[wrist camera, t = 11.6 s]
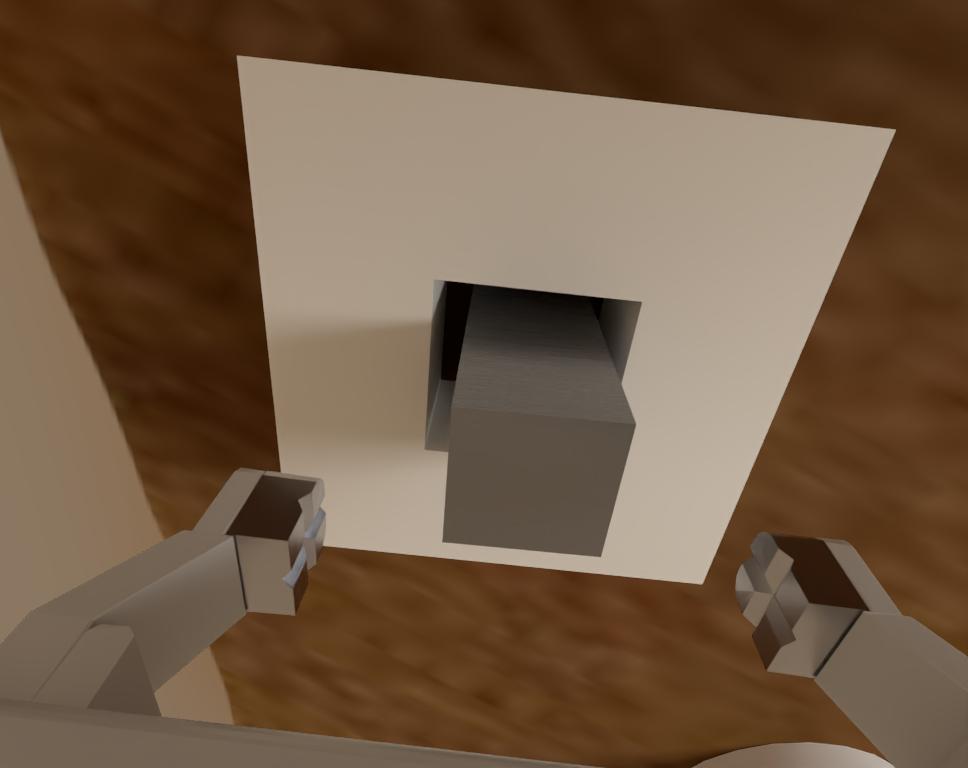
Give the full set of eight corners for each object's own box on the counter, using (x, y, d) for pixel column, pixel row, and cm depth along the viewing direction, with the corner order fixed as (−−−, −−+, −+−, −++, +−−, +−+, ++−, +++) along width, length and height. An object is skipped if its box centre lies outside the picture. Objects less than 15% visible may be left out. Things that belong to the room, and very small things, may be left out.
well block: (305, 63, 17) (236, 55, 13) (799, 118, 17) (896, 129, 13) (326, 462, 25) (288, 542, 21) (668, 497, 25) (702, 584, 21)
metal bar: (476, 268, 20) (451, 406, 12) (582, 278, 20) (636, 424, 12) (468, 363, 22) (442, 541, 14) (565, 372, 22) (601, 557, 14)
